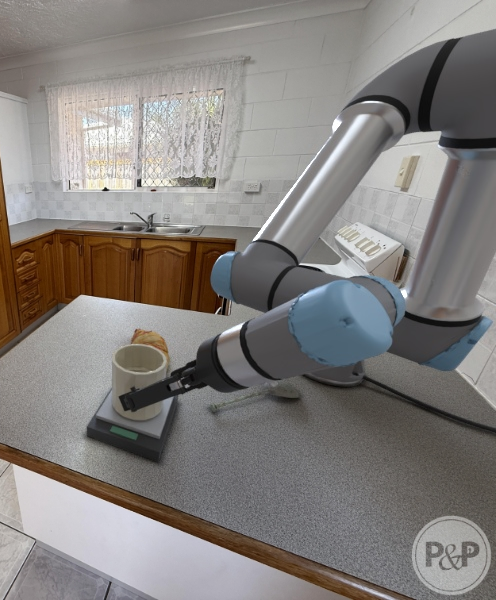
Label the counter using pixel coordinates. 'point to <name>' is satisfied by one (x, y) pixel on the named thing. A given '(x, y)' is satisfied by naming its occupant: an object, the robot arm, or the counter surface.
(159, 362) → the cream cylinder cup
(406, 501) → the counter surface
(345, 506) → the counter surface
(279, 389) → the soupspoon
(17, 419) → the counter surface
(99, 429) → the scale
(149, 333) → the croissant
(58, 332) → the counter surface
